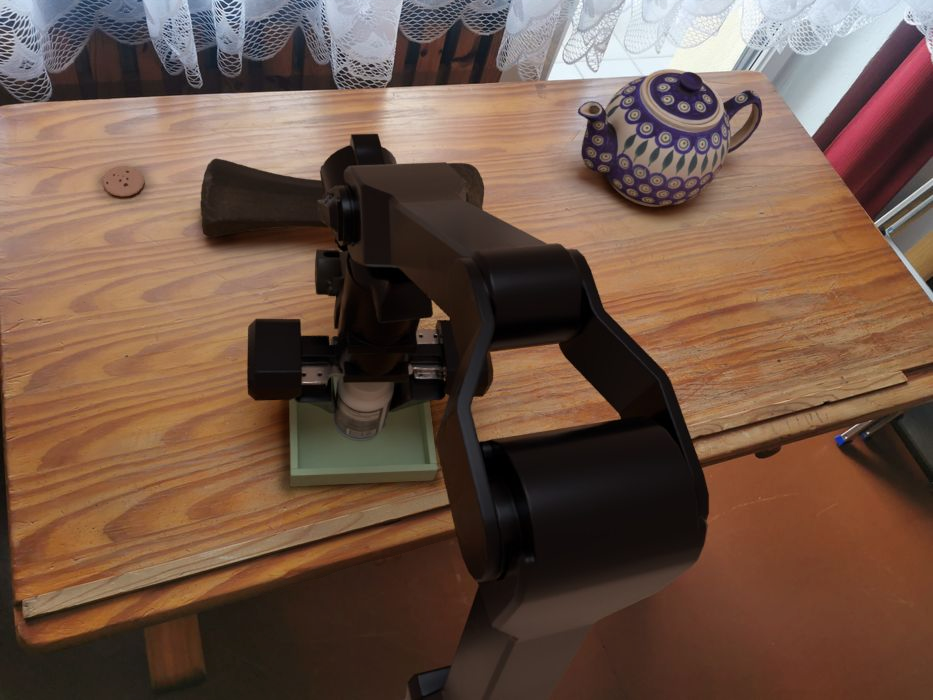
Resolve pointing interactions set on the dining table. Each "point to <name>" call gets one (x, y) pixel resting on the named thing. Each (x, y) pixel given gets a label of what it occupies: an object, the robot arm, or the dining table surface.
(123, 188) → the cookie
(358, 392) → the pill bottle
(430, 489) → the dining table surface
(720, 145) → the teapot
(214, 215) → the dark brown bone
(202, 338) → the dining table surface
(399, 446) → the tray
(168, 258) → the dining table surface
